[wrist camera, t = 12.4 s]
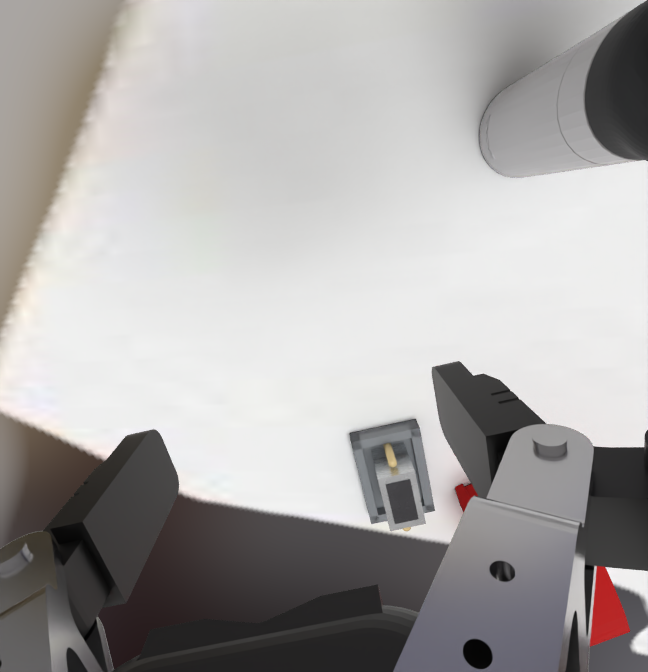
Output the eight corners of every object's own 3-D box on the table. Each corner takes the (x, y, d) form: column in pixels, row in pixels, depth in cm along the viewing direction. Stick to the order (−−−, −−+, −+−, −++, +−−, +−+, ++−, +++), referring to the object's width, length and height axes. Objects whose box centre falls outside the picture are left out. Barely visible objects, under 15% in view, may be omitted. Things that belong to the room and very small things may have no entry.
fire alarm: (451, 488, 56) (498, 584, 42) (523, 456, 55) (596, 544, 40) (492, 564, 61) (547, 674, 46) (559, 537, 59) (637, 641, 45)
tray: (415, 419, 52) (427, 443, 47) (430, 499, 56) (442, 531, 51) (349, 433, 53) (353, 459, 47) (369, 512, 57) (375, 545, 51)
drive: (404, 442, 52) (415, 471, 47) (414, 490, 55) (425, 524, 49) (370, 449, 53) (377, 479, 47) (382, 497, 55) (390, 531, 49)
